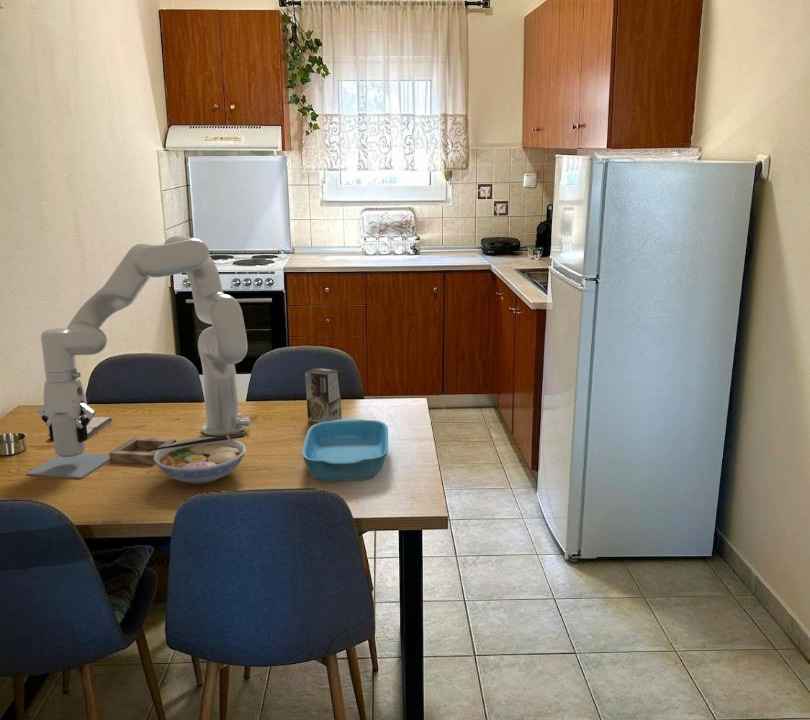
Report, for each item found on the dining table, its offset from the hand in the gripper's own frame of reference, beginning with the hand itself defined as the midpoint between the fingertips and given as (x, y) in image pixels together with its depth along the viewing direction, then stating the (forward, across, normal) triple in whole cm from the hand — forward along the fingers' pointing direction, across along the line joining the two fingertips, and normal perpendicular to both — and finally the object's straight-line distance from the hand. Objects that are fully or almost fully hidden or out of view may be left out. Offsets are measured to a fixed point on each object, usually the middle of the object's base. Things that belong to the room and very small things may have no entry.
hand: (69, 439), depth 213 cm
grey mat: (+7, 0, 0) cm, 7 cm away
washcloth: (+8, +15, -27) cm, 31 cm away
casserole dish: (+8, -72, -14) cm, 74 cm away
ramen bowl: (+8, -39, +3) cm, 40 cm away
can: (+4, 0, 0) cm, 4 cm away
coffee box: (+7, -56, -48) cm, 74 cm away
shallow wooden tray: (+7, -15, -11) cm, 20 cm away
